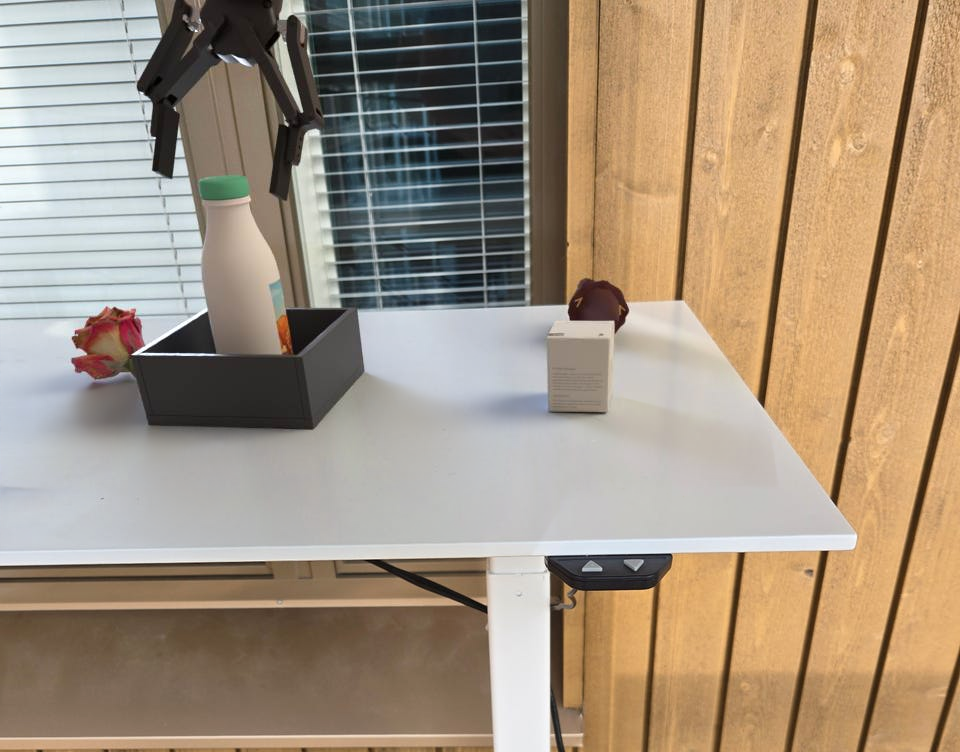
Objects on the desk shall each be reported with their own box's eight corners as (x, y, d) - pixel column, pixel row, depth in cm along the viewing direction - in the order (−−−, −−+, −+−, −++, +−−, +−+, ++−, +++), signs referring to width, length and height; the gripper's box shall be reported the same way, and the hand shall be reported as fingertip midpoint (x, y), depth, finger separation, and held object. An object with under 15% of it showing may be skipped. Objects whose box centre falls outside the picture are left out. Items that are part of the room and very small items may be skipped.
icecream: (655, 294, 98) (614, 277, 111) (592, 282, 96) (558, 266, 109) (638, 358, 101) (600, 334, 114) (577, 347, 99) (545, 325, 112)
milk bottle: (275, 402, 90) (235, 183, 79) (210, 396, 92) (162, 183, 81) (310, 377, 96) (278, 171, 85) (249, 373, 98) (209, 171, 87)
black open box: (148, 424, 89) (129, 355, 85) (220, 369, 103) (207, 307, 99) (313, 429, 86) (302, 357, 82) (364, 371, 100) (357, 307, 96)
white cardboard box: (613, 393, 91) (616, 319, 87) (608, 414, 86) (611, 337, 82) (554, 391, 92) (554, 318, 88) (546, 412, 87) (545, 336, 83)
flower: (184, 352, 103) (139, 293, 102) (143, 360, 95) (93, 295, 93) (129, 400, 107) (85, 343, 105) (85, 411, 99) (36, 350, 97)
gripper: (378, -7, 90) (341, 215, 95) (159, -38, 94) (136, 176, 99) (351, -47, 83) (313, 196, 88) (115, -79, 87) (93, 154, 92)
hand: (219, 186), depth 93 cm, fingers open, 13 cm apart
